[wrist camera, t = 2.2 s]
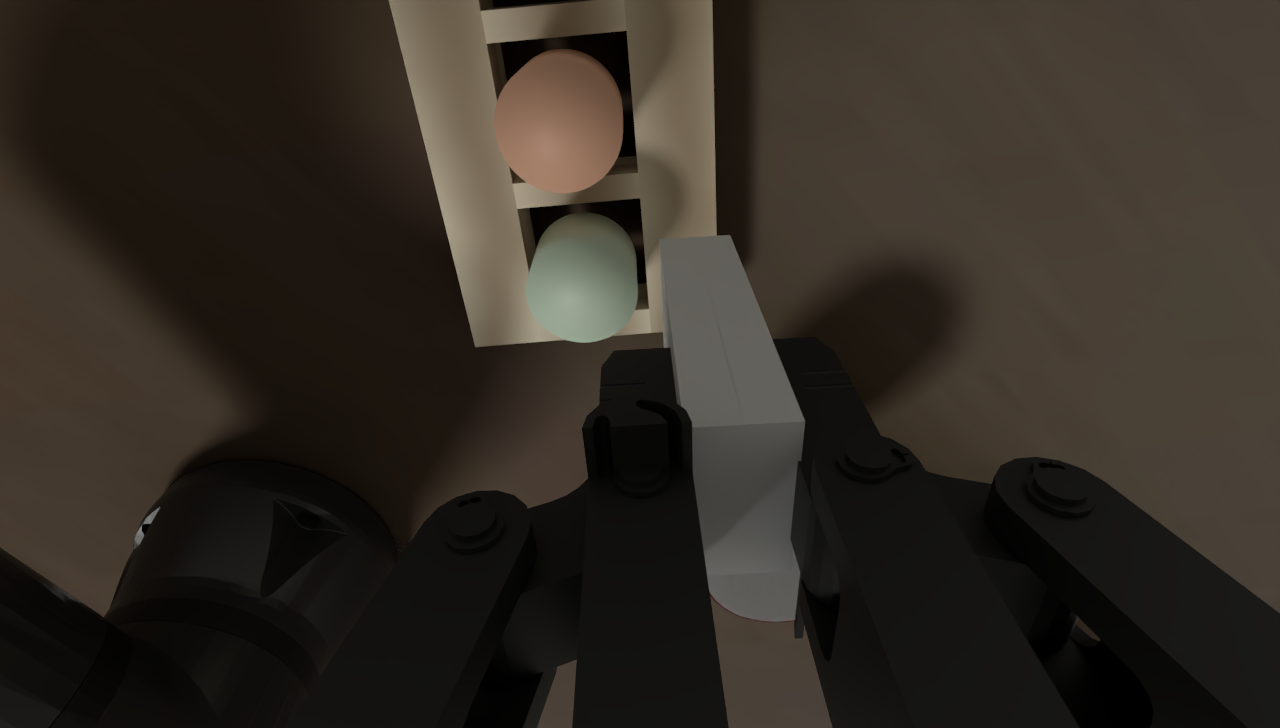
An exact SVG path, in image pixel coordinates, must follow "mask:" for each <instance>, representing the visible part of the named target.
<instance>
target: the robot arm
mask: <svg viewBox="0 0 1280 728" xmlns="http://www.w3.org/2000/svg"><path fill="white" fill-rule="evenodd" d="M659 243H660V267H661V291H662V315H663V340H664V348H653V349H636V350H619V351H613V353H612V354H611V355H610V357H609V358H608V359H607V360H606V362H605V363H604V364H603V366H602V367H601V383H600V387H601V388H600V404H599V406H598V407H597V408H595V409H594V410H593V411H592V412H591V413H590V414H589V415H587V417H586V420H585V422H584V425H583V427H582V432H583V440H584V448H585V455H586V463H587V471H588V479H587V480H586V481H585V482H584V483H583V484H582V485H581V486H580V487H579V488H577V489H576V490H574V491H573V492H571V493H569V494H568V495H566V496H564V497H562V498H559V499H557V500H554V501H552V502H548V503H545V504H542V505H539V506H535V507H532V508H529V509H527V506H526V505H525V504H524V503H523V502H522V501H520V500H519V499H518V498H517V497H516V496H514V495H511V494H508V493H504V492H501V491H476V492H472V493H469V494H465V495H462V496H458V497H456V498H454V499H452V500H451V501H449V502H447V503H445V504H444V505H442V506H440V507H439V508H437V509H436V510H435V511H434V512H433V513H432V515H431V516H430V517H429V518H428V519H427V520H426V521H425V522H424V523H423V525H422V526H421V527H420V529H419V530H418V532H417V533H416V535H415V536H414V538H413V539H412V541H411V542H410V544H409V545H408V547H407V548H406V550H405V551H404V553H403V554H402V555H401V557H400V558H399V560H398V561H397V556H396V550H395V546H394V543H393V540H392V538H391V536H390V533H389V532H388V530H387V528H386V527H385V525H384V524H383V522H382V521H381V520H380V518H379V517H378V516H377V515H376V514H375V513H374V511H373V510H372V509H371V508H370V507H369V506H367V505H366V504H365V503H364V502H363V501H362V500H360V499H359V498H358V497H357V496H355V495H354V494H352V493H351V492H349V491H348V490H346V489H345V488H343V487H341V486H340V485H338V484H336V483H334V482H332V481H330V480H328V479H326V478H324V477H322V476H319V475H317V474H314V473H312V472H309V471H306V470H303V469H300V468H296V467H293V466H288V465H284V464H279V463H273V462H265V461H253V460H239V461H227V462H220V463H215V464H211V465H207V466H204V467H200V468H198V469H195V470H193V471H191V472H189V473H187V474H185V475H184V476H182V477H180V478H179V479H178V480H176V481H175V482H174V483H173V484H172V485H171V486H170V487H169V488H168V489H167V490H166V491H165V492H164V494H163V495H162V496H161V497H160V498H159V499H158V500H157V502H156V503H155V504H154V505H153V506H152V507H151V508H150V510H149V511H148V512H147V514H146V515H145V517H144V518H143V520H142V522H141V523H140V526H139V528H138V530H137V533H136V536H135V540H134V545H133V552H132V554H131V556H130V557H129V559H128V561H127V564H126V566H125V568H124V571H123V573H122V576H121V578H120V581H119V584H118V586H117V589H116V592H115V595H114V597H113V600H112V603H111V606H110V608H109V610H108V612H107V613H106V615H105V616H104V617H102V616H101V615H99V614H98V613H97V612H95V611H94V610H92V609H91V608H89V607H88V606H86V605H85V604H83V603H82V602H80V601H79V600H77V599H76V598H74V597H73V596H71V595H70V594H68V593H67V592H65V591H64V590H62V589H61V588H59V587H58V586H56V585H55V584H53V583H52V582H51V581H49V580H48V579H46V578H45V577H43V576H42V575H40V574H39V573H37V572H36V571H34V570H33V569H31V568H30V567H28V566H27V565H25V564H24V563H22V562H21V561H19V560H18V559H16V558H15V557H13V556H12V555H10V554H9V553H7V552H6V551H4V550H3V549H2V548H0V728H537V725H538V723H539V720H540V717H541V714H542V711H543V708H544V705H545V703H546V700H547V697H548V694H549V691H550V688H551V685H552V683H553V680H554V677H555V674H556V669H557V666H560V665H563V664H565V663H568V662H571V661H573V660H576V659H577V666H576V681H575V696H574V711H573V727H572V728H729V727H728V720H727V713H726V706H725V699H724V692H723V685H722V678H721V670H720V663H719V656H718V649H717V642H716V635H715V628H714V621H713V614H712V607H711V599H710V592H709V585H708V578H707V576H710V575H729V574H747V573H765V572H784V571H790V567H791V557H792V547H793V549H794V553H795V556H796V560H797V563H798V567H799V570H800V578H799V587H798V596H797V605H796V614H795V623H794V629H795V638H803V631H804V624H805V628H806V632H807V635H808V639H809V643H810V646H811V650H812V654H813V657H814V661H815V665H816V668H817V672H818V676H819V679H820V683H821V687H822V690H823V694H824V698H825V701H826V705H827V709H828V712H829V716H830V720H831V723H832V727H833V728H1280V613H1278V612H1277V611H1276V610H1274V609H1273V608H1272V607H1270V606H1269V605H1268V604H1266V603H1265V602H1264V601H1262V600H1261V599H1260V598H1258V597H1257V596H1256V595H1254V594H1253V593H1252V592H1250V591H1249V590H1248V589H1246V588H1245V587H1244V586H1242V585H1241V584H1240V583H1238V582H1237V581H1236V580H1235V579H1233V578H1232V577H1231V576H1229V575H1228V574H1227V573H1225V572H1224V571H1223V570H1221V569H1220V568H1219V567H1217V566H1216V565H1215V564H1213V563H1212V562H1211V561H1209V560H1208V559H1207V558H1205V557H1204V556H1203V555H1201V554H1200V553H1199V552H1197V551H1196V550H1195V549H1193V548H1192V547H1191V546H1189V545H1188V544H1187V543H1185V542H1184V541H1183V540H1181V539H1180V538H1179V537H1177V536H1176V535H1175V534H1173V533H1172V532H1171V531H1169V530H1168V529H1167V528H1166V527H1164V526H1163V525H1162V524H1160V523H1159V522H1158V521H1156V520H1155V519H1154V518H1152V517H1151V516H1150V515H1148V514H1147V513H1146V512H1144V511H1143V510H1142V509H1140V508H1139V507H1138V506H1136V505H1135V504H1134V503H1132V502H1131V501H1130V500H1128V499H1127V498H1126V497H1124V496H1123V495H1122V494H1120V493H1119V492H1118V491H1116V490H1115V489H1114V488H1112V487H1111V486H1110V485H1108V484H1107V483H1106V482H1104V481H1103V480H1101V479H1099V478H1098V477H1096V476H1094V475H1093V474H1091V473H1089V472H1087V471H1086V470H1084V469H1082V468H1079V467H1076V466H1073V465H1070V464H1067V463H1065V462H1062V461H1059V460H1052V459H1045V458H1039V457H1030V458H1018V459H1014V460H1012V461H1009V462H1007V463H1005V464H1003V465H1001V466H1000V468H999V469H998V471H997V473H996V475H995V476H994V479H993V482H992V484H988V483H982V482H976V481H970V480H964V479H957V478H951V477H946V476H942V475H938V474H934V473H930V472H928V471H925V469H924V467H923V466H922V464H921V462H920V461H919V460H918V459H917V458H916V457H915V455H914V454H913V453H912V452H911V451H910V450H909V449H908V448H906V447H905V446H903V445H901V444H899V443H898V442H896V441H894V440H892V439H890V438H887V437H883V436H881V435H880V433H879V431H878V429H877V428H876V426H875V424H874V422H873V420H872V419H871V417H870V415H869V413H868V411H867V410H866V408H865V406H864V404H863V402H862V401H861V399H860V397H859V395H858V393H857V392H856V390H855V388H854V387H852V383H851V381H850V379H849V377H848V375H847V373H846V372H844V368H843V366H842V364H841V363H840V361H839V359H838V357H837V355H836V354H835V352H834V351H833V350H832V349H830V348H829V347H827V346H826V345H825V344H823V343H822V342H820V341H819V340H818V339H816V338H815V337H806V338H789V339H772V338H771V335H770V333H769V330H768V328H767V325H766V323H765V320H764V318H763V315H762V313H761V310H760V308H759V305H758V303H757V301H756V298H755V296H754V293H753V291H752V288H751V286H750V283H749V281H748V278H747V276H746V273H745V271H744V268H743V266H742V263H741V261H740V258H739V256H738V253H737V251H736V248H735V246H734V243H733V241H732V238H731V236H730V235H720V236H704V237H687V238H670V239H659ZM1079 618H1080V619H1081V620H1082V621H1083V622H1084V623H1085V624H1086V625H1087V626H1088V627H1089V628H1090V629H1091V630H1092V631H1093V632H1094V633H1095V634H1096V635H1097V636H1098V637H1099V638H1100V639H1101V640H1100V641H1097V640H1095V639H1093V638H1091V637H1090V636H1088V635H1087V634H1086V633H1085V632H1083V631H1082V630H1081V629H1080V628H1079V627H1078V626H1077V625H1076V623H1077V621H1078V619H1079Z"/></svg>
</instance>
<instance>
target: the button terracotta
mask: <svg viewBox="0 0 1280 728" xmlns="http://www.w3.org/2000/svg"><path fill="white" fill-rule="evenodd" d="M494 129H495V136H496V140H497V144H498V146H499V149H500V151H501V154H502V155H503V157H504V159H505V161H506V162H507V164H508V165H509V166H510V168H511V169H512V170H513V171H514V172H515V173H516V174H517V175H518V176H519V177H520V178H521V179H523V180H524V181H526V182H527V183H528V184H530V185H532V186H534V187H536V188H539V189H541V190H544V191H548V192H553V193H572V192H577V191H581V190H584V189H586V188H588V187H591V186H592V185H594V184H595V183H597V182H598V181H600V180H601V179H602V178H603V177H604V176H605V175H606V174H607V173H608V172H609V171H610V169H611V168H612V166H613V165H614V163H615V161H616V159H617V157H618V155H619V152H620V149H621V145H622V139H623V105H622V98H621V95H620V91H619V89H618V86H617V84H616V82H615V80H614V79H613V77H612V75H611V74H610V73H609V71H608V70H607V69H606V68H605V67H604V66H603V65H602V64H601V63H600V62H598V61H597V60H596V59H594V58H593V57H591V56H589V55H588V54H585V53H583V52H580V51H577V50H572V49H554V50H549V51H546V52H543V53H541V54H539V55H537V56H535V57H534V58H532V59H531V60H529V61H528V62H527V63H526V64H525V65H524V66H523V67H522V68H521V69H520V70H519V71H518V72H517V73H516V74H515V75H513V76H512V77H511V78H510V80H509V81H508V82H507V83H506V85H505V86H504V88H503V90H502V91H501V93H500V96H499V98H498V101H497V104H496V108H495V115H494Z"/></svg>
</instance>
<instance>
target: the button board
mask: <svg viewBox="0 0 1280 728" xmlns="http://www.w3.org/2000/svg"><path fill="white" fill-rule="evenodd" d="M389 3H390V7H391V11H392V15H393V19H394V23H395V27H396V31H397V35H398V39H399V43H400V47H401V51H402V55H403V59H404V63H405V67H406V71H407V75H408V79H409V83H410V87H411V91H412V95H413V99H414V103H415V107H416V111H417V115H418V119H419V123H420V127H421V131H422V135H423V139H424V143H425V147H426V151H427V155H428V159H429V163H430V167H431V171H432V176H433V180H434V184H435V188H436V192H437V196H438V200H439V204H440V208H441V212H442V216H443V220H444V224H445V228H446V232H447V236H448V240H449V244H450V248H451V252H452V256H453V260H454V264H455V268H456V272H457V276H458V280H459V284H460V288H461V292H462V296H463V300H464V304H465V308H466V312H467V316H468V320H469V324H470V328H471V332H472V336H473V340H474V344H475V347H483V346H495V345H508V344H520V343H532V342H544V341H556V340H565V339H562V338H559V337H557V336H555V335H553V334H552V333H550V332H549V331H547V330H546V329H545V328H543V327H542V326H541V325H540V324H539V322H538V321H537V320H536V319H535V317H534V316H533V314H532V312H531V310H530V308H529V305H528V302H527V297H526V283H527V278H528V274H529V271H530V268H531V265H532V262H533V258H534V255H535V252H536V244H535V238H534V232H533V227H532V221H531V215H530V210H529V208H533V207H545V206H556V205H568V204H579V203H591V202H602V201H614V200H626V199H637V198H640V203H641V215H642V228H643V240H644V252H645V265H646V277H647V283H643V284H637V285H638V299H637V304H636V308H635V311H634V313H633V315H632V317H631V318H630V320H629V321H628V323H627V324H626V325H625V326H624V327H623V328H622V329H621V330H620V331H618V332H617V333H615V334H614V335H612V336H617V335H629V334H642V333H654V332H663V315H662V291H661V267H660V243H659V239H670V238H687V237H704V236H717V232H716V176H715V120H714V65H713V9H712V0H569V1H558V2H548V3H537V4H526V5H516V6H505V7H494V4H493V0H389ZM619 31H627V43H628V55H629V67H630V80H631V92H632V104H633V117H634V129H635V141H636V154H637V156H628V157H617V159H616V161H615V163H614V165H613V166H612V168H611V169H610V171H609V172H608V173H607V174H606V175H605V176H604V177H603V178H602V179H601V180H600V181H598V182H597V183H595V184H594V185H592V186H591V187H588V188H586V189H584V190H581V191H577V192H572V193H553V192H548V191H544V190H541V189H539V188H536V187H534V186H532V185H530V184H528V183H527V182H526V181H524V180H523V179H521V178H520V177H519V176H518V175H517V174H516V173H515V172H514V171H513V170H512V169H511V168H510V166H509V165H508V164H507V162H506V161H505V159H504V157H503V155H502V154H501V151H500V149H499V146H498V144H497V140H496V136H495V129H494V115H495V108H496V104H497V101H498V98H499V96H500V93H501V91H502V90H503V88H504V86H505V85H506V83H507V78H506V72H505V67H504V61H503V55H502V49H501V44H500V42H510V41H521V40H532V39H543V38H554V37H565V36H575V35H586V34H597V33H608V32H619Z"/></svg>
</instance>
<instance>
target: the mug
mask: <svg viewBox="0 0 1280 728" xmlns="http://www.w3.org/2000/svg"><path fill="white" fill-rule="evenodd" d="M707 578H708V585H709V592H710V596H711V597H712V598H713V600H714V601H715V602H716V603H717V604H719V605H720V606H721V607H722V608H724V609H725V610H727V611H729V612H731V613H733V614H735V615H737V616H740V617H743V618H746V619H750V620H755V621H762V622H789V621H795V614H796V605H797V596H798V587H799V578H800V570H799V567H798V563H797V560H796V556H795V553H794V549H793V547H792V557H791V567H790V571H784V572H765V573H747V574H729V575H710V576H707Z"/></svg>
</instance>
